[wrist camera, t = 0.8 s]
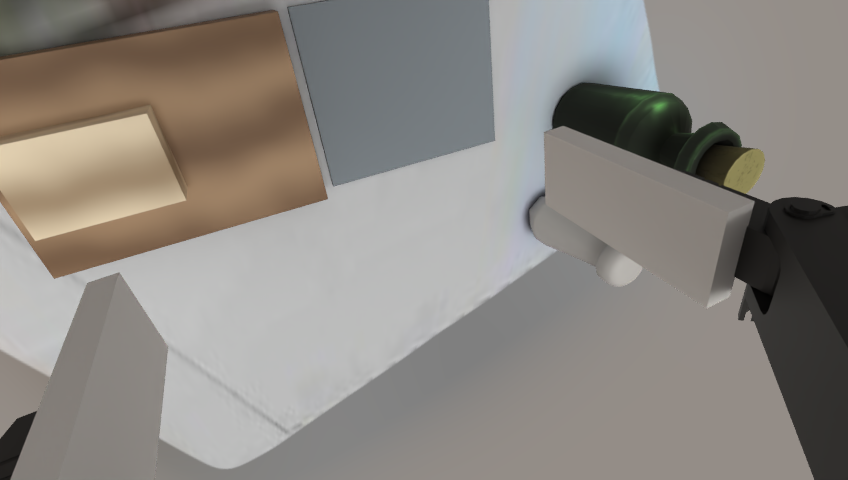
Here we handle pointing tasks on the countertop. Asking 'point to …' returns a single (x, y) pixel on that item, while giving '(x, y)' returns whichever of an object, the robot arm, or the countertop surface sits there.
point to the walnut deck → (176, 127)
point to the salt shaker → (581, 244)
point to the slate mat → (396, 80)
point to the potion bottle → (660, 132)
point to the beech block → (89, 171)
